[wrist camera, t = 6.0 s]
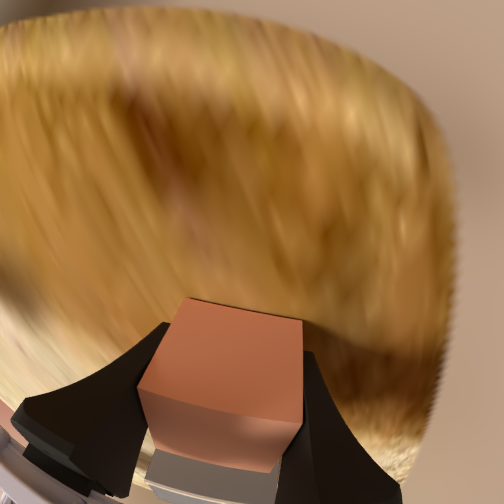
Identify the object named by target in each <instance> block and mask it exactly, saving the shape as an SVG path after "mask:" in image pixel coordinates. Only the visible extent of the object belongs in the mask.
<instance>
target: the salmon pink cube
mask: <svg viewBox="0 0 504 504" xmlns="http://www.w3.org/2000/svg"><path fill="white" fill-rule="evenodd" d="M137 389H138V393H139V397H140V400H141V404H142V407H143V411H144V414H145V417H146V421H147V424H148V427H149V430H150V433H151V436H152V439H153V442H154V445H155V448H157V449H160V450H163V451H166V452H169V453H172V454H176V455H179V456H183V457H187V458H190V459H194V460H198V461H202V462H207V463H211V464H216V465H220V466H225V467H231V468H236V469H242V470H249V471H256V472H263V473H270V472H271V470H272V469H273V468H274V466H275V465H276V463H277V462H278V460H279V459H280V458H281V456H282V455H283V453H284V452H285V450H286V449H287V447H288V446H289V444H290V443H291V441H292V440H293V438H294V436H295V435H296V433H297V432H298V430H299V428H300V427H301V425H302V423H303V333H302V321H301V320H295V319H289V318H283V317H278V316H272V315H267V314H261V313H256V312H251V311H246V310H241V309H236V308H231V307H226V306H221V305H216V304H212V303H207V302H203V301H198V300H194V299H189V298H185V300H184V301H183V303H182V305H181V307H180V309H179V310H178V312H177V314H176V316H175V317H174V319H173V321H172V323H171V325H170V327H169V328H168V330H167V332H166V334H165V336H164V337H163V339H162V341H161V343H160V345H159V347H158V349H157V350H156V352H155V354H154V356H153V358H152V360H151V362H150V364H149V365H148V367H147V369H146V371H145V373H144V375H143V377H142V379H141V381H140V383H139V384H138V386H137Z"/></svg>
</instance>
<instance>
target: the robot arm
mask: <svg viewBox="0 0 504 504" xmlns="http://www.w3.org/2000/svg"><path fill="white" fill-rule="evenodd" d="M170 325H171V324H170V323H166V322H162V323H161V324H160V325H158V326H157V327H156V328H155V329H154V330H153V331H152V332H150V333H149V334H148V335H147V336H146V337H145V338H143V339H142V340H141V341H140V342H139V343H137V344H136V345H135V346H133V347H132V348H131V349H130V350H128V351H127V352H126V353H124V354H123V355H122V356H120V357H119V358H117V359H116V360H114V361H113V362H112V363H110V364H109V365H107V366H105V367H104V368H102V369H101V370H99V371H97V372H95V373H94V374H92V375H90V376H88V377H86V378H84V379H82V380H80V381H78V382H75V383H73V384H71V385H68V386H66V387H63V388H60V389H58V390H55V391H52V392H49V393H45V394H41V395H37V396H33V397H28V398H25V399H24V400H23V402H22V403H21V404H20V406H19V407H18V409H17V410H16V412H15V413H14V415H13V416H12V418H11V423H12V425H13V426H14V427H15V428H16V429H17V431H18V432H19V433H20V434H21V435H22V436H23V437H24V438H25V439H26V440H27V441H28V442H29V444H28V446H27V447H26V448H25V447H24V446H22V445H21V444H19V443H18V442H17V441H16V440H15V439H13V438H12V437H11V436H10V434H9V433H8V432H7V431H6V430H5V429H4V428H3V427H2V426H1V425H0V489H1V490H2V491H3V494H2V496H1V499H0V500H1V502H0V504H122V503H120V502H118V501H115V500H113V499H111V498H109V497H106V496H105V494H107V495H109V496H112V497H113V496H116V497H119V498H125V497H128V496H129V491H130V487H131V483H132V478H133V474H134V470H135V467H136V463H137V459H138V456H139V453H140V450H141V446H142V443H143V440H144V437H145V434H146V431H147V428H148V424H147V421H146V417H145V414H144V411H143V407H142V404H141V400H140V397H139V393H138V389H137V386H138V384H139V383H140V381H141V379H142V377H143V375H144V373H145V371H146V369H147V367H148V365H149V364H150V362H151V360H152V358H153V356H154V354H155V352H156V350H157V349H158V347H159V345H160V343H161V341H162V339H163V337H164V336H165V334H166V332H167V330H168V328H169V327H170ZM274 504H403V503H402V493H401V489H400V484H398V483H397V482H396V481H395V480H394V479H393V478H391V477H390V476H389V475H388V474H387V473H386V472H385V471H384V470H383V469H382V468H381V467H380V466H379V465H378V464H377V463H376V462H375V461H374V460H373V459H372V458H371V457H370V455H369V454H368V453H367V452H366V451H365V449H364V448H363V447H362V446H361V445H360V443H359V442H358V441H357V439H356V438H355V437H354V435H353V434H352V432H351V431H350V429H349V428H348V426H347V425H346V423H345V421H344V420H343V418H342V416H341V415H340V413H339V411H338V409H337V407H336V406H335V404H334V402H333V400H332V398H331V395H330V393H329V391H328V389H327V387H326V385H325V382H324V380H323V378H322V375H321V373H320V370H319V367H318V365H317V362H316V359H315V356H314V354H313V352H309V351H303V423H302V425H301V427H300V428H299V430H298V432H297V433H296V435H295V436H294V438H293V440H292V441H291V443H290V444H289V446H288V447H287V449H286V450H285V452H284V453H283V455H282V462H281V469H280V476H279V482H278V488H277V493H276V498H275V503H274Z"/></svg>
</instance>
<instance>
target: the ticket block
mask: <svg viewBox="0 0 504 504" xmlns="http://www.w3.org/2000/svg"><path fill="white" fill-rule="evenodd" d="M279 462H280V459H279V460H278V462H277V463H276V465H275V466H274V468H273V469H272V470H271V472H270V473H263V472H256V471H249V470H242V469H236V468H231V467H225V466H220V465H216V464H211V463H207V462H202V461H198V460H194V459H190V458H187V457H183V456H179V455H176V454H172V453H169V452H166V451H163V450H160V449H157V448H156V449H155V452H154V454H153V457H152V460H151V462H150V465H149V468H148V470H147V473H146V476H145V478H144V479H145V480H144V482H145V483H147V484H149V486H150V487H151V489H152V490H153V492H154V493H155V494H156V496H157V497H158V498H159V499H160V500H163V501H167V502H170V503H173V504H274V503H275V498H276V491H277V482H278V472H279Z"/></svg>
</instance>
